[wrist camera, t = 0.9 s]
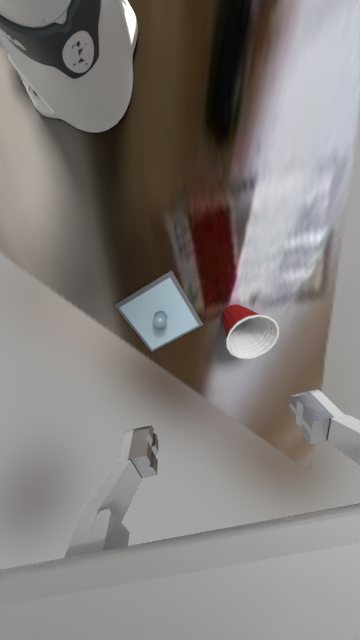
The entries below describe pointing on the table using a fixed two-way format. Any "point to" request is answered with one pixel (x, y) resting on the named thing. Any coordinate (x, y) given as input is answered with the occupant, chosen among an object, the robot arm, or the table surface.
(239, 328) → the plastic cup
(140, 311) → the lid
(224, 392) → the table surface
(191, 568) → the robot arm
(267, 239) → the table surface
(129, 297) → the grey flat square plate
